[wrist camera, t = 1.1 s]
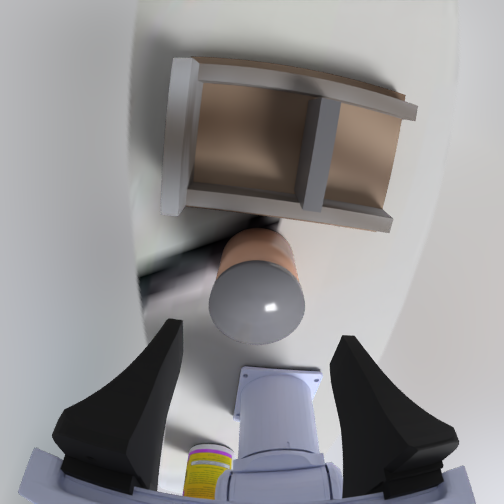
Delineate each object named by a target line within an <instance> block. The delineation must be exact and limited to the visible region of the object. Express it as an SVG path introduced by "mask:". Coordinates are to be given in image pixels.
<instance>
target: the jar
mask: <svg viewBox="0 0 504 504" xmlns="http://www.w3.org/2000/svg"><path fill="white" fill-rule="evenodd" d="M304 311H305V301H304V296H303V291H302V288H301V285H300V283H299V279H298V274H297V270H296V265H295V260H294V255H293V251H292V249H291V247H290V245H289V243H288V242H287V241H286V240H285V238H283V237H282V236H281V235H280V234H278V233H276V232H274V231H272V230H269V229H264V228H251V229H247V230H243V231H241V232H239V233H237V234H236V235H234V236H233V237H232V238H231V239H230V240H229V241H228V243H227V244H226V246H225V248H224V250H223V253H222V257H221V261H220V265H219V269H218V273H217V277H216V281H215V283H214V285H213V287H212V290H211V294H210V298H209V312H210V316H211V318H212V320H213V322H214V324H215V325H216V327H217V328H218V329H219V330H220V331H221V332H222V333H223V334H225V335H226V336H228V337H229V338H231V339H233V340H236V341H238V342H241V343H245V344H253V345H262V344H269V343H273V342H276V341H279V340H281V339H283V338H285V337H286V336H288V335H289V334H291V333H292V332H293V331H294V330H295V329H296V328H297V327H298V325H299V324H300V322H301V320H302V318H303V315H304Z"/></svg>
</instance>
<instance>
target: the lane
mask: <svg viewBox="0 0 504 504" xmlns="http://www.w3.org/2000/svg"><path fill="white" fill-rule="evenodd" d="M317 98H326V99H330V100H335V101H339V102H341V107H340V113H339V119H338V125H337V131H336V137H335V143H334V148H333V154H332V159H331V165H330V170H329V175H328V180H327V185H326V190H325V195H324V200H323V205H322V210H321V213H319V212H312V211H306V210H302V208H301V206H300V203H299V201H298V199H297V197H296V194H295V192H294V187H295V181H296V175H297V169H298V163H299V157H300V151H301V145H302V139H303V133H304V126H305V120H306V114H307V107H308V100H312V99H317ZM417 108H418V106H417V105H414V104H411V103H408V102H405V95H404V94H401V93H398V92H395V91H392V90H388V89H385V88H382V87H379V86H375V85H372V84H368V83H365V82H361V81H357V80H354V79H350V78H346V77H342V76H337V75H333V74H329V73H324V72H319V71H314V70H309V69H304V68H298V67H293V66H287V65H280V64H273V63H266V62H258V61H250V60H240V59H228V58H214V57H191V58H173V62H172V69H171V77H170V85H169V94H168V103H167V113H166V124H165V136H164V150H163V166H162V187H161V215H170V216H179V214H180V213H181V211H182V210H183V209H184V207H185V206H187V207H196V208H205V209H214V210H222V211H231V212H239V213H247V214H255V215H263V216H271V217H278V218H286V219H293V220H300V221H307V222H314V223H321V224H328V225H335V226H341V227H348V228H354V229H361V230H367V231H373V232H376V231H379V232H385V233H389V232H390V229H391V225H392V222H393V218H392V217H391V216H390V215H388V214H387V213H386V212H385V211H384V210H383V209H382V208H383V205H384V201H385V197H386V193H387V188H388V184H389V180H390V176H391V171H392V167H393V162H394V157H395V152H396V148H397V142H398V137H399V132H400V126H401V121H402V119H404V120H412V121H415V120H416V114H417Z"/></svg>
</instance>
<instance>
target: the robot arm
mask: <svg viewBox="0 0 504 504" xmlns="http://www.w3.org/2000/svg"><path fill="white" fill-rule="evenodd" d="M182 356H183V320H176V319H168V320H166V322H165V323H164V325H163V326H162V328H161V329H160V331H159V332H158V333H157V335H156V336H155V337H154V338H153V340H152V341H151V342H150V343H149V345H148V346H147V347H146V348H145V349H144V351H143V352H142V353H141V354H140V355H139V356H138V357H137V358H136V359H135V360H134V361H133V362H132V363H131V364H130V365H129V366H128V367H127V368H126V369H125V370H124V371H123V372H122V373H121V374H119V375H118V376H117V377H116V378H115V379H113V380H112V381H111V382H110V383H108V384H107V385H106V386H104V387H103V388H102V389H100V390H99V391H97V392H95V393H94V394H92V395H91V396H89V397H88V398H86V399H84V400H82V401H80V402H78V403H77V404H75V405H73V406H71V407H69V408H67V409H65V410H64V411H63V413H62V414H61V416H60V418H59V419H58V422H57V424H56V427H55V429H54V431H53V434H52V438H53V440H54V441H55V443H56V444H57V445H58V447H59V448H60V449H61V450H62V451H63V452H64V454H65V457H64V460H62V459H60V458H59V457H57V456H54V455H52V454H50V453H47V452H45V451H42V450H40V449H38V448H34V449H33V452H32V454H31V457H30V459H29V462H28V465H27V468H26V470H25V473H24V476H23V479H22V482H21V484H20V487H19V491H18V493H19V495H21V496H23V497H24V498H26V499H27V500H29V501H30V502H32V503H34V504H476V502H475V499H474V495H473V492H472V488H471V485H470V482H469V479H468V476H467V473H466V470H465V467H464V466H460V467H457V468H454V469H451V470H448V471H446V472H444V473H441V468H443V463H442V460H444V459H445V458H446V457H447V456H448V455H450V454H451V453H452V452H453V451H454V450H455V449H456V448H457V447H458V445H459V440H458V437H457V435H456V432H455V430H454V428H453V427H452V426H450V425H448V424H446V423H444V422H442V421H440V420H438V419H436V418H435V417H434V416H432V415H430V414H429V413H427V412H426V411H424V410H423V409H422V408H420V407H419V406H418V405H416V404H415V403H414V402H413V401H412V400H410V399H409V398H408V397H407V396H406V395H405V394H403V392H401V391H400V390H399V389H398V388H397V387H396V386H395V385H394V384H393V383H392V382H391V380H390V379H389V378H388V377H387V376H386V375H385V374H384V373H383V371H382V370H381V369H380V368H379V367H378V365H377V364H376V363H375V362H374V360H373V359H372V358H371V357H370V355H369V354H368V353H367V351H366V350H365V349H364V348H363V346H362V345H361V344H360V342H359V341H358V340H357V339H356V337H355V336H347V335H342V337H341V340H340V342H339V344H338V347H337V349H336V351H335V353H334V356H333V358H332V360H331V362H330V376H331V385H332V389H333V394H334V398H335V403H336V407H337V412H338V416H339V421H340V427H341V435H342V448H343V478H342V474H341V471H340V469H339V468H338V467H337V466H336V465H334V464H333V463H332V462H329V463H325V462H324V455H323V453H320V451H319V444H318V437H317V429H316V422H315V416H314V409H313V402H312V400H313V398H314V396H315V394H316V391H317V389H318V387H319V384H320V382H321V380H322V377H323V374H322V372H319V371H300V370H283V369H270V368H258V367H247V366H246V367H243V368H242V369H241V373H240V379H239V385H238V391H237V398H236V404H235V410H234V416H233V420H234V421H238V422H240V431H239V451H238V459H234V460H233V470H225V471H224V472H223V474H221V475H220V476H219V478H218V480H217V484H216V489H215V500H209V499H201V498H193V497H186V496H179V495H173V494H167V493H162V492H157V486H158V475H159V466H160V457H161V450H162V443H163V436H164V430H165V424H166V418H167V414H168V410H169V406H170V403H171V400H172V396H173V393H174V389H175V386H176V383H177V379H178V376H179V372H180V367H181V362H182ZM245 374H247V375H245Z"/></svg>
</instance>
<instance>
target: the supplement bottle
mask: <svg viewBox="0 0 504 504" xmlns="http://www.w3.org/2000/svg"><path fill="white" fill-rule="evenodd" d="M234 459H236V455H235V453H234V452H233V451H232V450H230V449H229V448H227V447H224V446H221V445H216V444H200V445H196V446H194V447H192V448H191V449H190V451H189V456H188V462H187V469H186V476H185V483H184V489H183V496H186V497H193V498H201V499H209V500H215V489H216V484H217V480H218V478H219V476H220V475H221V474H223V472H224V471H225V470H233V460H234Z"/></svg>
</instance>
